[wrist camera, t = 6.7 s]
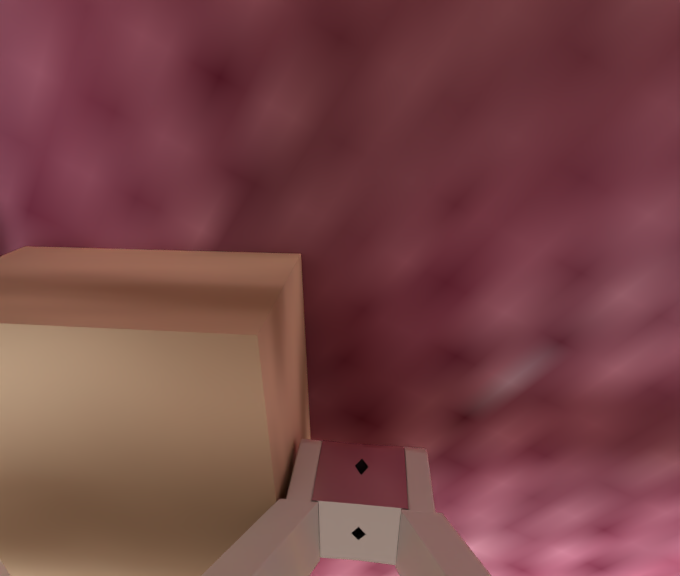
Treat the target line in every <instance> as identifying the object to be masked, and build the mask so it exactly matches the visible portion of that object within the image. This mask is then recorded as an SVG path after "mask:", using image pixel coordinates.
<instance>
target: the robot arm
mask: <svg viewBox="0 0 680 576" xmlns="http://www.w3.org/2000/svg"><path fill="white" fill-rule="evenodd" d="M320 557H321V558H336V559H350V560H361V561H368V562H376V563H383V564H391V565H396V569H397V571H398V573H399V575H400V576H491V575H490V573H489V572H488V571H487V570H486V568H485V567H484V566H483V565H482V563H481V562H480V561H479V559H478V558H477V557H476V556H475V554H474V553H473V552H472V550H471V549H470V548H469V547H468V545H467V544H466V543H465V542H464V540H463V539H462V538H461V536H460V535H459V534H458V533H457V531H456V530H455V529H454V528H453V526H452V525H451V524H450V522H449V521H448V520H447V519H446V517H445V516H444V515H443V514H442V513H436V512H435V506H434V498H433V491H432V483H431V476H430V468H429V461H428V453H427V450H426V449H425V448H415V447H402V446H387V445H372V444H354V443H344V442H334V441H325V440H323V441H321V440H311V439H302V440H301V442H300V444H299V447H298V451H297V456H296V460H295V464H294V468H293V472H292V476H291V480H290V484H289V488H288V492H287V497H286V499H279V500H278V501H277V502H276V503H275V504H274V505H272V506H271V507H270V508H269V509H268V510H267V511H266V512H265V513H264V514H263V515H262V516H261V517H260V518H259V519H258V520H257V521H256V522H255V523H254V524H253V525H252V526H251V527H250V528H249V529H248V530H247V531H246V532H245V533H244V534H243V535H242V536H241V537H240V538H239V539H238V540H237V541H236V542H235V543H234V544H233V545H232V546H231V547H230V548H229V549H228V550H227V551H226V552H225V553H224V554H223V555H222V556H221V557H220V558H219V559H218V560H217V561H216V562H215V563H214V564H213V565H212V566H210V567H209V568H208V569H207V570H206V571H205V572H204V573H203V574H202V575H201V576H309V575H310V574H311V572H312V571H313V569H314V568H315V567H316V565H317V564H318V562H319V561H320Z"/></svg>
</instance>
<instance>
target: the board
mask: <svg viewBox="0 0 680 576" xmlns="http://www.w3.org/2000/svg"><path fill="white" fill-rule="evenodd" d="M302 439H311V436H310V417H309V398H308V379H307V360H306V340H305V321H304V302H303V283H302V264H301V254H294V253H256V252H219V251H182V250H145V249H108V248H71V247H34V246H25V247H22V248H20V249H17V250H15V251H12V252H10V253H7V254H5V255H2V256H0V560H1V561H2V563H3V565H4V566H5V568H6V570H7V571H8V573H9V574H10V576H201V575H202V574H203V573H204V572H205V571H206V570H207V569H208V568H209V567H210V566H212V565H213V564H214V563H215V562H216V561H217V560H218V559H219V558H220V557H221V556H222V555H223V554H224V553H225V552H226V551H227V550H228V549H229V548H230V547H231V546H232V545H233V544H234V543H235V542H236V541H237V540H238V539H239V538H240V537H241V536H242V535H243V534H244V533H245V532H246V531H247V530H248V529H249V528H250V527H251V526H252V525H253V524H254V523H255V522H256V521H257V520H258V519H259V518H260V517H261V516H262V515H263V514H264V513H265V512H266V511H267V510H268V509H269V508H270V507H271V506H272V505H274V504H275V503H276V502H277V501H278V500H279V499H286V497H287V492H288V488H289V484H290V480H291V476H292V472H293V468H294V464H295V460H296V456H297V451H298V447H299V444H300V442H301V440H302Z"/></svg>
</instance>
